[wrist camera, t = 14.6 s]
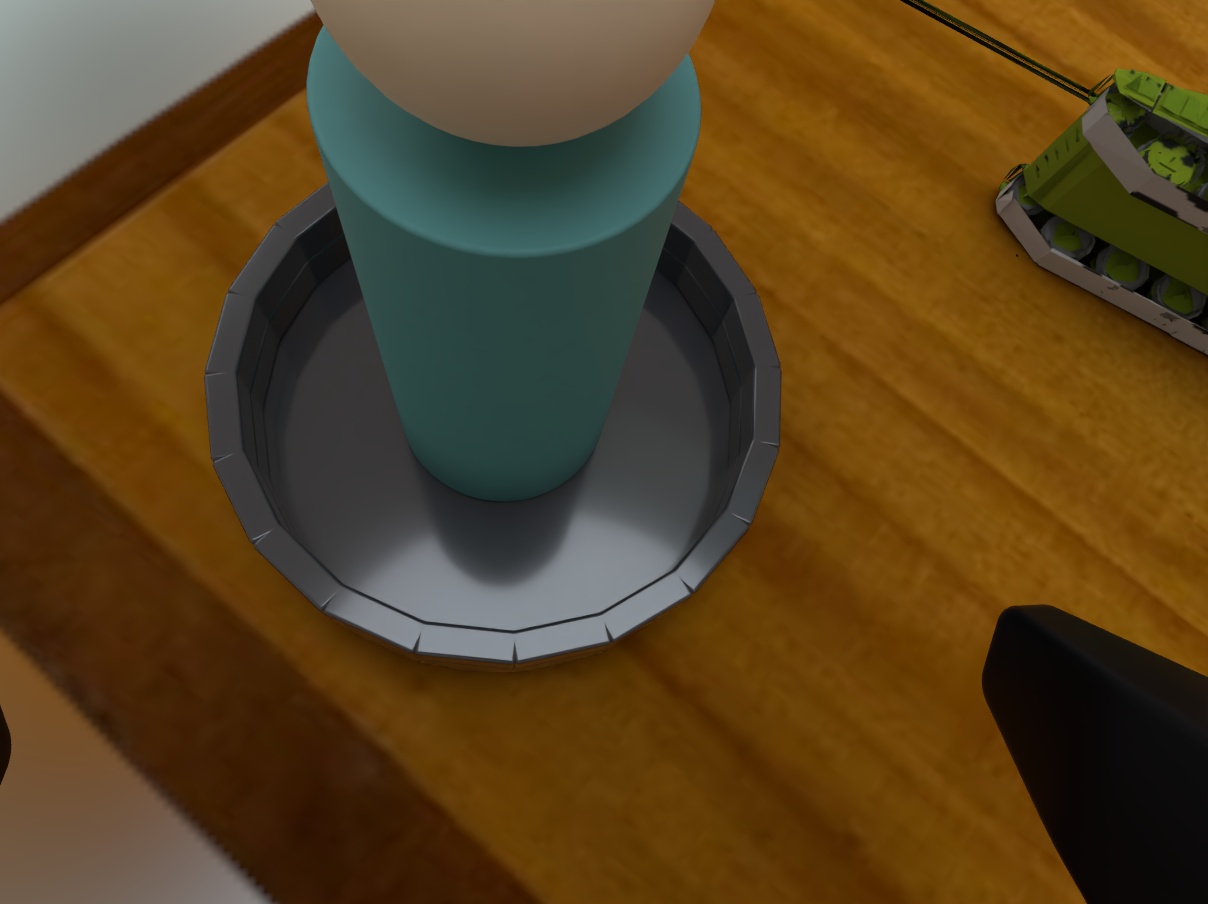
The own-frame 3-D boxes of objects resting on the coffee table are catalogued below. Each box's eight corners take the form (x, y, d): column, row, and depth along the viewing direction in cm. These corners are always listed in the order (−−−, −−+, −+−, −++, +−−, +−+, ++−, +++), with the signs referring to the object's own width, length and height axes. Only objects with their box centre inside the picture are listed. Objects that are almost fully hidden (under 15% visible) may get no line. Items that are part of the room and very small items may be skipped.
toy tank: (1692, 512, 15) (1855, 76, 17) (778, 30, 16) (1000, -335, 18) (1345, 534, 22) (1481, 227, 24) (724, 195, 23) (886, -77, 25)
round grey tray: (840, 410, 20) (885, 366, 18) (516, 794, 16) (519, 803, 14) (496, 127, 21) (496, 51, 19) (129, 422, 18) (73, 374, 15)
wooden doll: (597, 315, 19) (789, -507, 7) (610, 499, 18) (886, -98, 5) (402, 315, 19) (198, -588, 6) (399, 505, 17) (126, -150, 5)
